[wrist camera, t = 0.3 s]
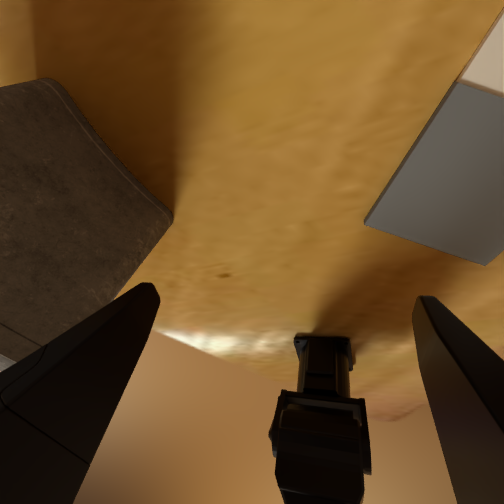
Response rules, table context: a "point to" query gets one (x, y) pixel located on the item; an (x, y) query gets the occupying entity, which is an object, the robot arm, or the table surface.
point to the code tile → (487, 62)
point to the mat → (451, 180)
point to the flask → (63, 218)
